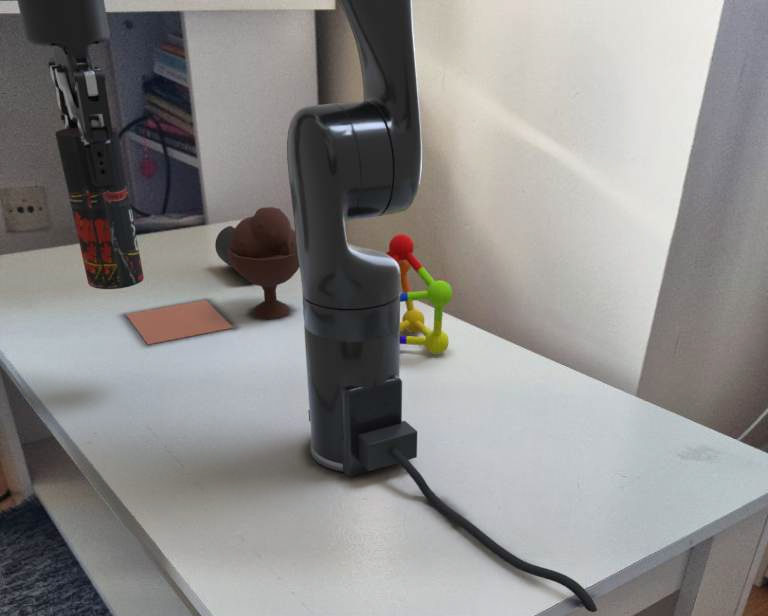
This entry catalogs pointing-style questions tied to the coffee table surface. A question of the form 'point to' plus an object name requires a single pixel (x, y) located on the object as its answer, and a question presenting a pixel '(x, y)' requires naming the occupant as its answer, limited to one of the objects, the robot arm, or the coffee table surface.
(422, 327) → the educational toy
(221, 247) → the end cap
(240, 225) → the ice cream bowl
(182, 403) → the coffee table surface
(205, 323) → the tile
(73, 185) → the deodorant
